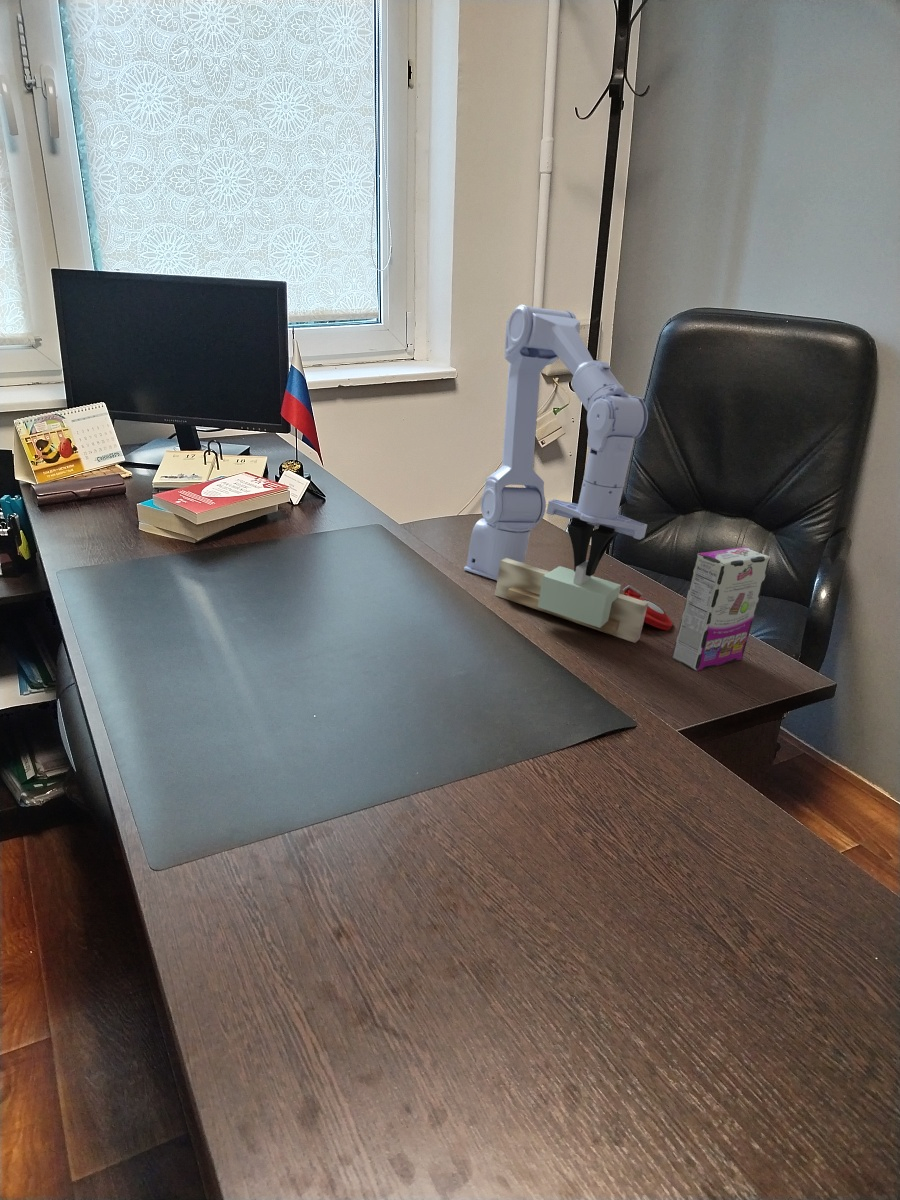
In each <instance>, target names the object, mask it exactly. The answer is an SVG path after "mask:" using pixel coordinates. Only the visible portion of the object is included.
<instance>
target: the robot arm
mask: <svg viewBox="0 0 900 1200" xmlns="http://www.w3.org/2000/svg"><path fill="white" fill-rule="evenodd" d="M580 331H581V322H580V320H579V319H578V318H577V317H576V314H575V313H574V312H573V311H569V310H564V311H563V310H557V309H556V310H555V309H549V308H548V309H547V308H541V307H537V306H536V307H534V306H528V305H527V304H519V305H517V306H516V307H515V309H514V310H513V311H512V312H511V314H510V315H509V318H508V320H507V321H506V328H505V340H504V359H505V360H506V361H507V362H508V370H507V385H506V387H507V388H506V402H505V416H504V419H505V420H504V428H503V429H504V433H503V443H502V444H503V446H502V458H501V460H502V461H501V462H502V463H501V467H500V468H498V469H497V470H495V472H492V473H491V474H490V475H489V476H488V477H486V478H485V485H484V490H483V493H482V496H481V498H480V499H481V500H480V512H481V515H482V518H480V519H479V520H477V522H476V523H475V524H474V526H473V528H472V532H471V535H470V539H469V548H468V553H467V560H466V565H465V566H464V567H463V570H464V571H466V572H469V573H473V574H476V575H479V576H482V577H484V578H488V579H492V580H493V581H497V579H498V573H499V568H500V562H501V560H503V559H505V558H509V559H512V560H515V561H518V562H521V563H524V564H525V561H526V557H527V551H528V546H529V540H530V535H531V531H532V530H535V529H536V528H535V527H536V525H537V524H539V523H541V521H542V520H543V518H544V516H545V513H546V514H547V515H550V516H554V515H555V516H558V517H562V518H566V519H570V520H571V521H570V523H568V524H567V533H568V535H569V538H570V541H571V546H572V552H573V564H574V565H573V566H574V568H573V570H574V572H575V571H576V567H577V566H578V565H580V564H582V563H583V562H585V561H586V560H588V563H587V567H586V575H587V576H591V575H592V576H594V574H596V571H597V568H598V565H599V563H600V561H601V560H602V558H603V556H604V554H605V553H606V551H607V550H608V548H609V546H610V545H611V544H612V543H613V542H614V540H615V539H616V538H617V536H619V534H623V535H627V536H630V537H633V539H636V540H642V539H644V538H645V536H646V531H647V528H648V524H647V523H644V522H640V521H637V520H636V519H632V518H630V517H627V516H624V515H622V514H619V510H620V503H621V500H622V495H623V491H624V486H625V481H626V478H627V473H628V468H629V463H630V461H631V459H630V458H631V456H632V450H633V446H634V441H635V440H638V439H639V438H641V437H642V435H643V434H644V432H645V430H646V428H647V425H648V420H649V412H648V408H647V406H646V403H645V400H644V399H643V398H642V397H640V396H632V395H631V394H629V393H627V392H626V390H625V387H624V386H623V384H621V383H620V382H619V381H618V379H617V378H616V377H615V375H614V374H613V372H612V370H611V369H612V367H611V366H610V364H609V363H608V362H605V361H601V360H594V359H593V357H592V355H591V353H590V351H589V350H588V348H587V346H586V345H585V342H584V341H583V339H582V337H581V335H580V333H581V332H580ZM558 360H560V361H561V362H562V363H563V365H564V366H565V367H566V369H567V370H568V371H569V372H570V373H571V375H572V376H573V377H572V378H571V389H572V390H573V392H574V393H575V394H576V396H577V398H578V399H579V401H580V402H581V404H582V405H583V406H584V409H585V410H586V411H587V415H586V425H587V430H588V431H587V434H588V435H587V440H586V442H587V447H589V450H588V455H587V461H586V465H585V470H584V475H583V478H582V479H583V480H582V484H581V489H580V493H579V499H578V503H575V502H569V501H564V500H559V499H555V498H553V499H550V500H548V503H547V502H546V496H545V487H544V485H545V481H544V480H543V478H541V476H539V474H538V473H537V472H536V471H535V470H534V459H535V458H534V457H535V456H534V455H535V444H536V433H537V432H536V429H537V417H538V416H537V415H538V405H539V404H538V403H539V402H538V401H539V391H540V375H541V373H542V371H543V370H544V369H545V368H546V367H547V366H549V365H552V364H554V363H555V362H556V361H558ZM510 485H511V486H512V485H513V486H524V487H511V486H510ZM595 527H597V528H595ZM589 547H590V550H588V549H589ZM588 551H589V556H588V559H587V555H588Z"/></svg>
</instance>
